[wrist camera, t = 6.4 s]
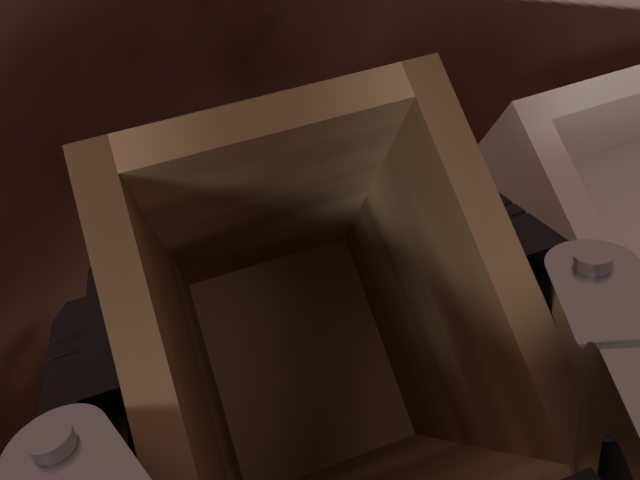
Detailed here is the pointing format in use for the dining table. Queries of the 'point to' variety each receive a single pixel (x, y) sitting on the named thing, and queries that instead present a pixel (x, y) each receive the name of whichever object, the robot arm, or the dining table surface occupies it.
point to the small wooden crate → (323, 291)
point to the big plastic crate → (574, 157)
